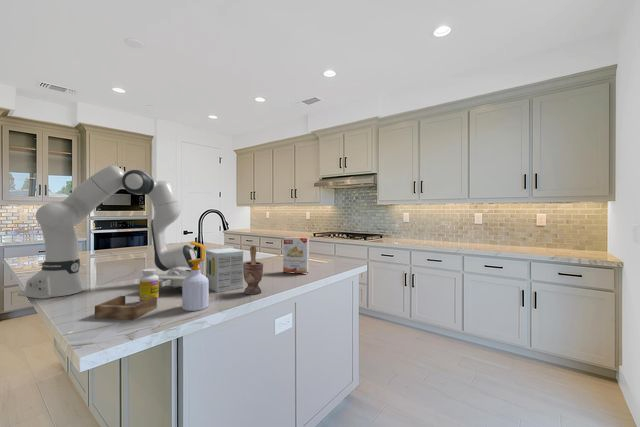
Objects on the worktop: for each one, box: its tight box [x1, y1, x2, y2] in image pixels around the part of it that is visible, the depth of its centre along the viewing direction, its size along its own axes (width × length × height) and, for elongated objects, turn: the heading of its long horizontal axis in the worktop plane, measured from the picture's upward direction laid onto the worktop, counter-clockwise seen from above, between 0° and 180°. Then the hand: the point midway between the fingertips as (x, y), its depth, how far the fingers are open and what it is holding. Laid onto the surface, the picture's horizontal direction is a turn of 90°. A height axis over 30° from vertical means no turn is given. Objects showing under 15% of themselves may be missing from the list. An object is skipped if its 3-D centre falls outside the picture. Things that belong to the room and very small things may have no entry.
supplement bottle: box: [139, 268, 160, 303], centre depth 122 cm, size 7×7×13 cm
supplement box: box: [205, 247, 244, 293], centre depth 146 cm, size 13×13×18 cm
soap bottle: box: [181, 241, 210, 312], centre depth 116 cm, size 9×9×25 cm
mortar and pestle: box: [243, 245, 264, 295], centre depth 139 cm, size 12×9×20 cm
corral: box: [94, 295, 158, 321], centre depth 110 cm, size 14×12×4 cm
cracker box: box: [282, 236, 310, 274], centre depth 180 cm, size 14×6×21 cm, turn 81°
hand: (159, 284), depth 129 cm, fingers closed
